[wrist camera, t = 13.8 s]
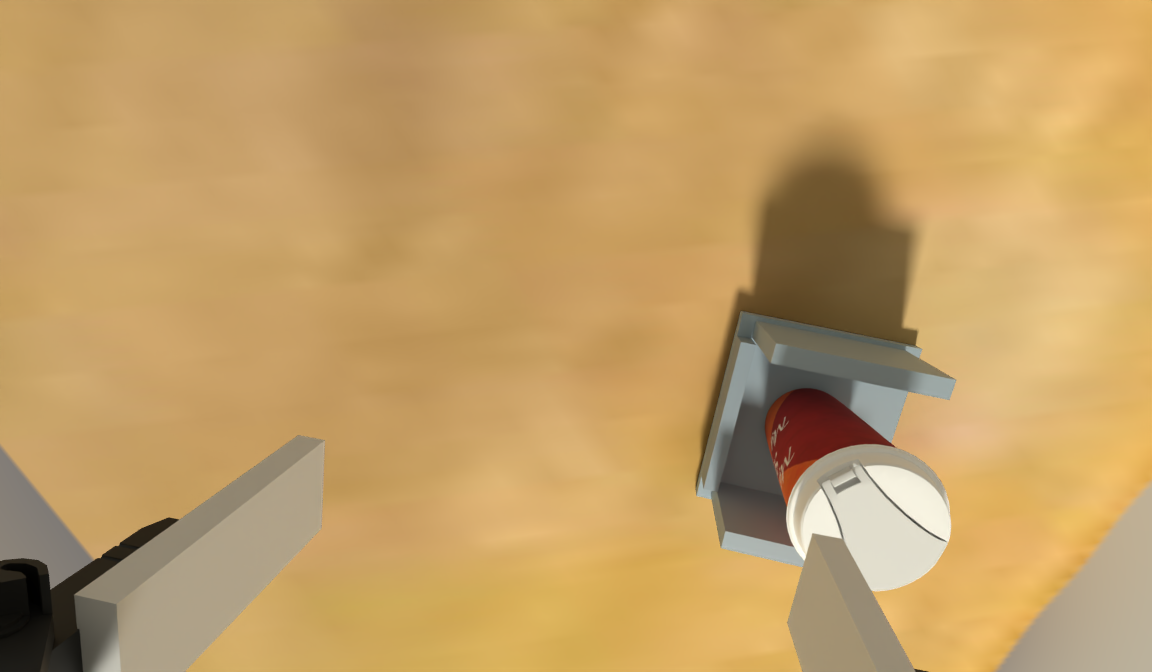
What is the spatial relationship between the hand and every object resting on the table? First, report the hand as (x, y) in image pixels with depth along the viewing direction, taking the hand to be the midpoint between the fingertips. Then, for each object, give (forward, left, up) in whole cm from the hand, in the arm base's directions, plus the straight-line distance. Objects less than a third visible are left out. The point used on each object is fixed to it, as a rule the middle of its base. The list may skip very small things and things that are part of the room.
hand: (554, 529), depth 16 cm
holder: (+4, +14, -28) cm, 32 cm away
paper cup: (+4, +14, -28) cm, 31 cm away
